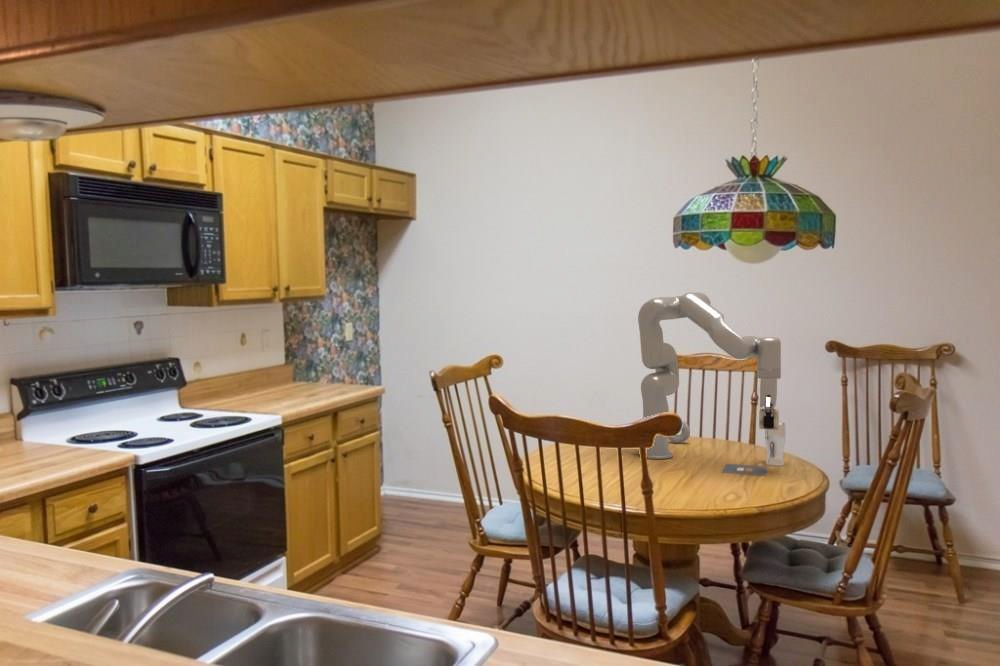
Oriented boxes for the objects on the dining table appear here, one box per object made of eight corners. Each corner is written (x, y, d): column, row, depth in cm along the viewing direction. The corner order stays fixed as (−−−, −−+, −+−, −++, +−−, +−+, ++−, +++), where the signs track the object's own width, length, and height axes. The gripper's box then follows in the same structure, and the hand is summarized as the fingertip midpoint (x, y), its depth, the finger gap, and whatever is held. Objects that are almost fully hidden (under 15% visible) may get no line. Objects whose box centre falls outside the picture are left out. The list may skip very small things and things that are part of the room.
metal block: (759, 428, 253) (759, 411, 253) (760, 425, 259) (760, 408, 258) (778, 429, 251) (778, 412, 250) (778, 426, 256) (778, 409, 256)
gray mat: (721, 474, 255) (721, 472, 255) (725, 464, 268) (725, 463, 268) (765, 477, 250) (765, 476, 250) (767, 468, 262) (767, 466, 262)
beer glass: (782, 462, 270) (782, 421, 269) (787, 467, 263) (788, 425, 262) (762, 462, 271) (762, 421, 270) (767, 466, 264) (767, 424, 263)
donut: (664, 443, 306) (664, 419, 305) (665, 441, 309) (665, 417, 308) (689, 444, 302) (689, 420, 302) (690, 443, 305) (690, 418, 305)
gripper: (759, 370, 263) (759, 421, 264) (755, 376, 247) (755, 430, 248) (781, 371, 260) (781, 422, 261) (779, 376, 244) (779, 431, 245)
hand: (769, 425), depth 255 cm, fingers closed on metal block, 6 cm apart
